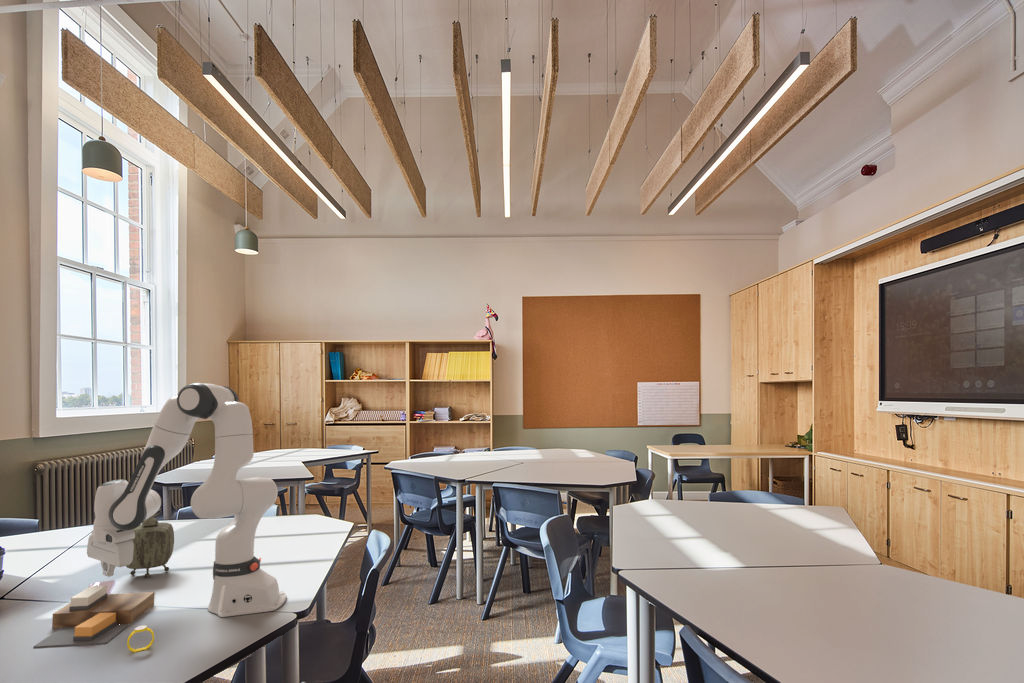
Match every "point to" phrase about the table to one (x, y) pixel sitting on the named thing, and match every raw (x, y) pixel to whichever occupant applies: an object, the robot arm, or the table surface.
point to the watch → (137, 629)
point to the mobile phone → (108, 583)
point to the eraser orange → (95, 627)
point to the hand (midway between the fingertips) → (108, 575)
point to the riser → (107, 609)
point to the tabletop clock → (152, 545)
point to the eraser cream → (88, 598)
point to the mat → (66, 639)
